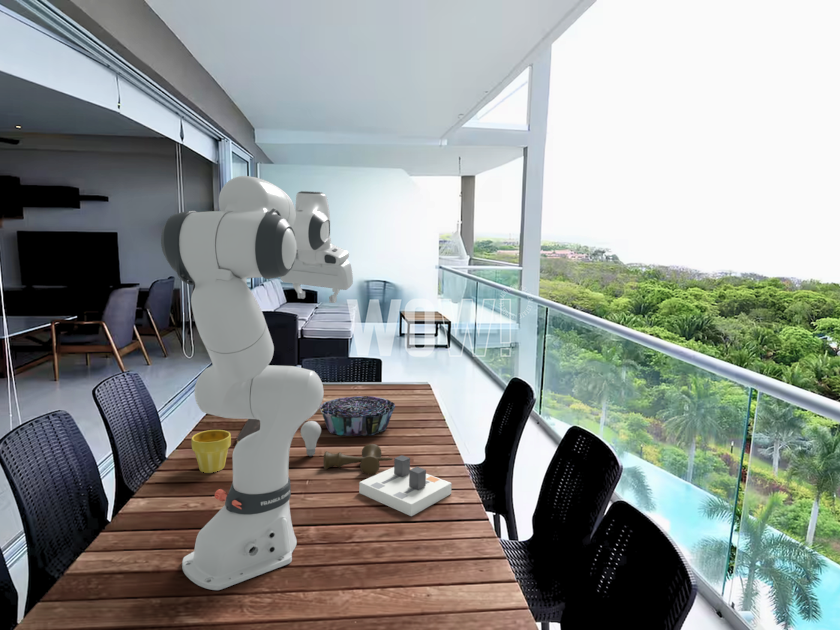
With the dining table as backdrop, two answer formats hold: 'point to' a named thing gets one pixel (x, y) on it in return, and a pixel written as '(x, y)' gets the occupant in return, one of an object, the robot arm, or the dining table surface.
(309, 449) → the lightbulb
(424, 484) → the block
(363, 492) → the breaker panel
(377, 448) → the kendama
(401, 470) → the block
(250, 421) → the hardcover book
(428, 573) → the dining table surface
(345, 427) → the decorative bowl
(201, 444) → the plant pot
